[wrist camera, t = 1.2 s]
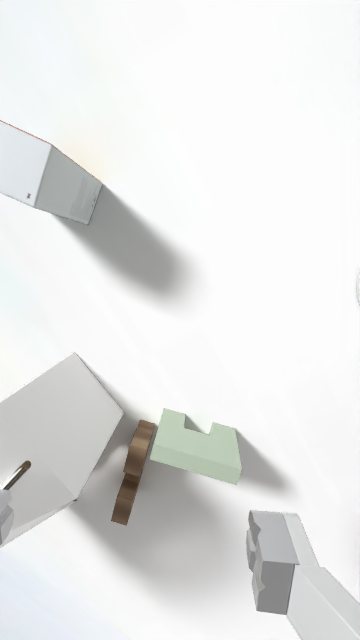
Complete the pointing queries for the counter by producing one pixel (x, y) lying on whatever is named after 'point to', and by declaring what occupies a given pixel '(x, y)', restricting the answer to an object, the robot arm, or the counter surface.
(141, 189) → the counter surface
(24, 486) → the gable box
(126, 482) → the upright
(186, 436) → the crosspiece
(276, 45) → the counter surface
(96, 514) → the counter surface
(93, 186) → the small box
